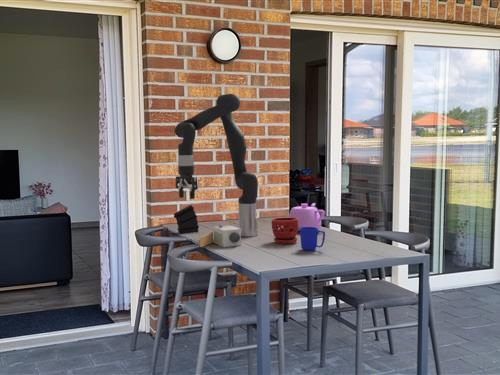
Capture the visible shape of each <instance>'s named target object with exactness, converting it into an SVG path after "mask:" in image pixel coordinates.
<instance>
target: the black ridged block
mask: <svg viewBox="0 0 500 375" xmlns="http://www.w3.org/2000/svg"><path fill="white" fill-rule="evenodd" d="M194 208H195V207H194V206H193V205H192V204H189V205H188V206H185V207H184V208H182V209H180V210H178V211H177V212H175V213H173V217H174V218H175V220H176V224H177V227H178V228H177V232H178V233H179V234H191V233H193V232H195V233H199V228H200V226H199V222H198V215H197V213H196V211H195V209H194Z"/></svg>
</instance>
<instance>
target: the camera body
mask: <svg viewBox="0 0 500 375" xmlns="http://www.w3.org/2000/svg"><path fill="white" fill-rule="evenodd" d="M213 243H214V244H217V245H219V246H220V247H223V248H225V247H226V248H227V247H238V246H241V245H242V236H241V229H240V228H239V227H236V226H233V225H222V224H219V225H216V226H213Z"/></svg>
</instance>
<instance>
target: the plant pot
mask: <svg viewBox="0 0 500 375" xmlns="http://www.w3.org/2000/svg"><path fill="white" fill-rule="evenodd" d="M271 228H272V230H271V231H272V234H273V236H274V238H273V241H274V242H275V243H276V244H281V245H282V244H283V245H284V244H285V245H286V244H287V245H291V244H294V243H296V242H297V241H298V238H297V237H296V236H297V234H298V232H299V231H298V219H297V218H288V217H287V216H286V217H276V218H272V219H271Z"/></svg>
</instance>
